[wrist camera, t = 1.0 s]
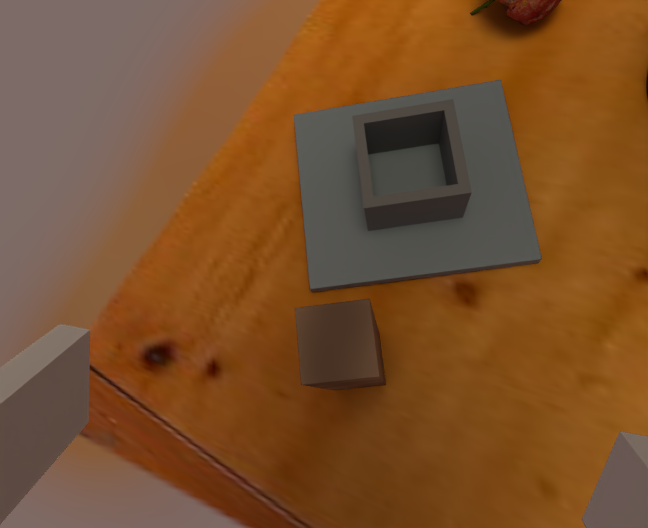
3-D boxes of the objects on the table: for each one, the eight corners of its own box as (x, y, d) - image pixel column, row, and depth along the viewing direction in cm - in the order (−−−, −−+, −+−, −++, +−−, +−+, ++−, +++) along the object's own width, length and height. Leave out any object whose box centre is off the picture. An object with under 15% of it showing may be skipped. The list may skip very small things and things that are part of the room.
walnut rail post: (379, 333, 40) (369, 298, 26) (385, 384, 38) (379, 376, 25) (329, 339, 40) (294, 308, 27) (334, 390, 39) (301, 384, 26)
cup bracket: (497, 88, 44) (513, 39, 38) (537, 263, 39) (562, 238, 33) (296, 122, 46) (281, 80, 40) (312, 292, 41) (298, 274, 35)
